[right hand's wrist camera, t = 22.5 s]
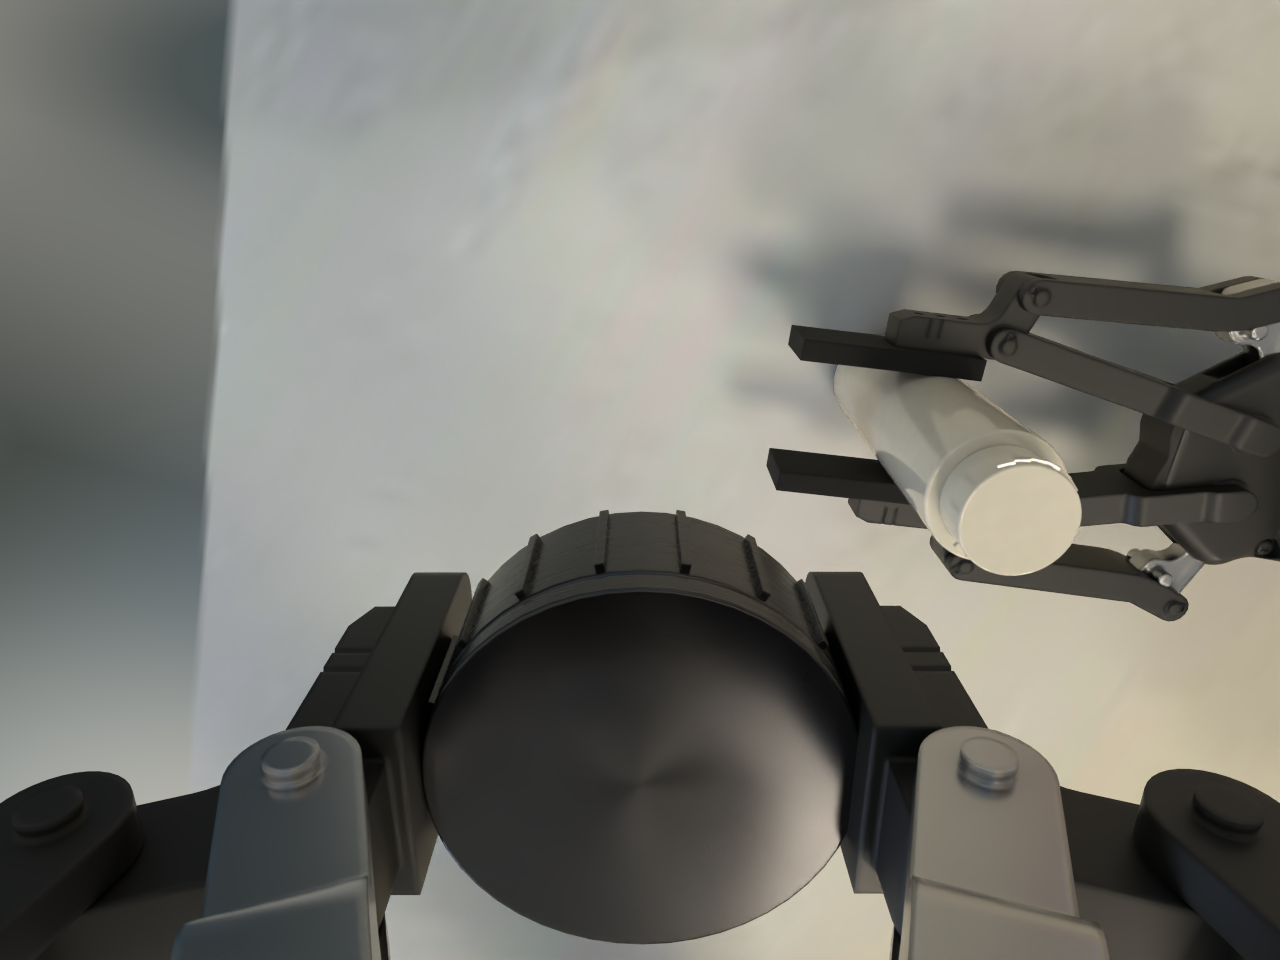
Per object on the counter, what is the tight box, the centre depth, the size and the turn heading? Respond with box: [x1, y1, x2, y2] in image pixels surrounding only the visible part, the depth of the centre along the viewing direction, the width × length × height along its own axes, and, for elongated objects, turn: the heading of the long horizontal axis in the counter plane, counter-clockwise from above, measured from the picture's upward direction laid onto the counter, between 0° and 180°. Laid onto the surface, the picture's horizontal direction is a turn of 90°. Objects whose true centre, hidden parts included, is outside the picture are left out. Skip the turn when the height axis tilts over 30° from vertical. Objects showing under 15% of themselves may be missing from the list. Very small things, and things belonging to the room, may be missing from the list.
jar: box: [834, 335, 1082, 576], centre depth 31 cm, size 4×4×16 cm
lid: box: [421, 510, 858, 944], centre depth 10 cm, size 5×5×2 cm
